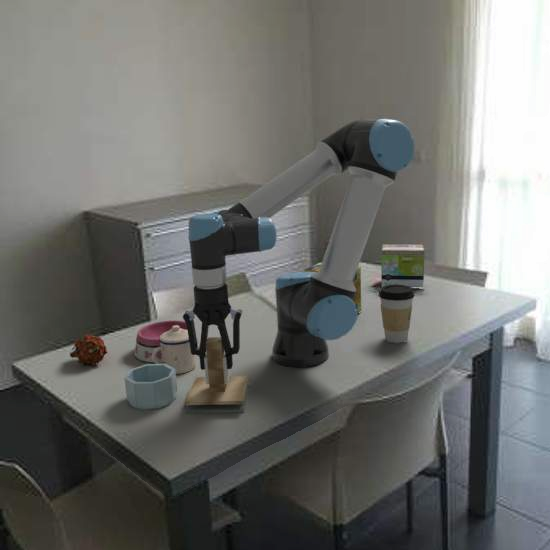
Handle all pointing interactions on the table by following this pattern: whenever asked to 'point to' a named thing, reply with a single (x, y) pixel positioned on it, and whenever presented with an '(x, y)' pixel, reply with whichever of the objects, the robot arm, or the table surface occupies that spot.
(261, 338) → the table surface
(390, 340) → the coffee cup
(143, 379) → the ceramic bowl
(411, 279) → the tea box
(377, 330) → the table surface
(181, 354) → the teacup with lid
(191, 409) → the slate mat
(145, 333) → the dog bowl
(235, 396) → the oak lid
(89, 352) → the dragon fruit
